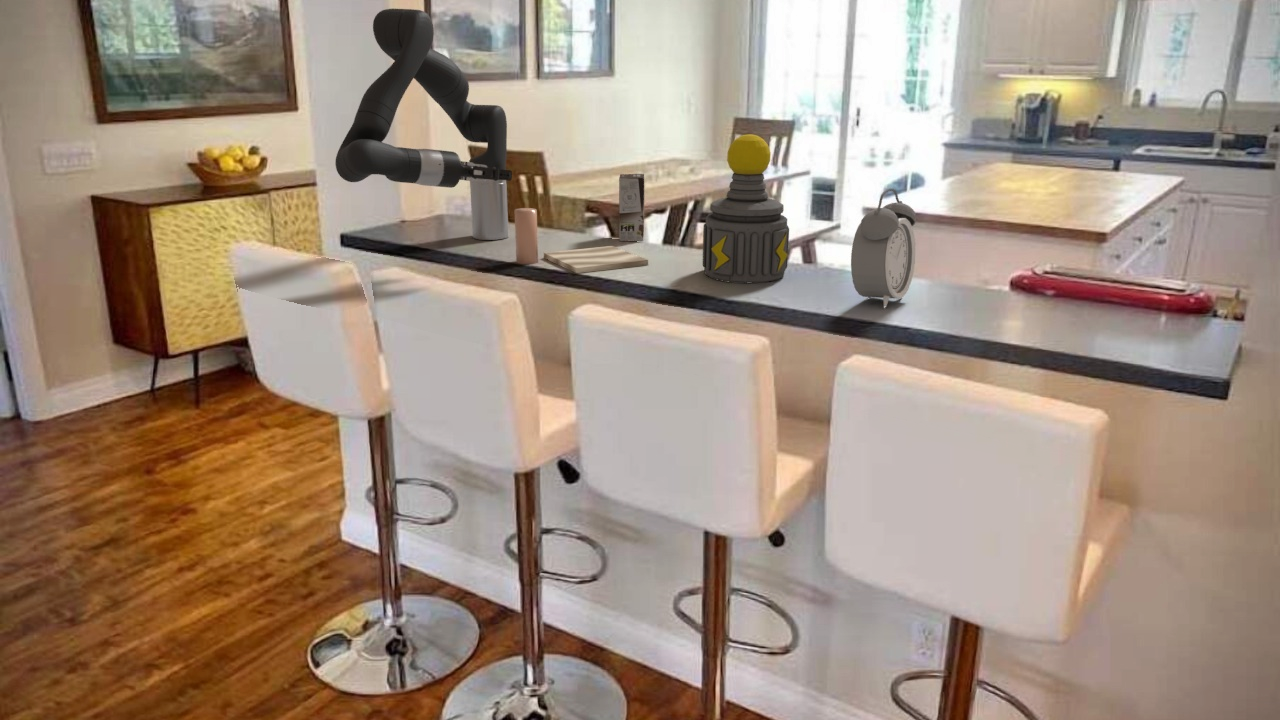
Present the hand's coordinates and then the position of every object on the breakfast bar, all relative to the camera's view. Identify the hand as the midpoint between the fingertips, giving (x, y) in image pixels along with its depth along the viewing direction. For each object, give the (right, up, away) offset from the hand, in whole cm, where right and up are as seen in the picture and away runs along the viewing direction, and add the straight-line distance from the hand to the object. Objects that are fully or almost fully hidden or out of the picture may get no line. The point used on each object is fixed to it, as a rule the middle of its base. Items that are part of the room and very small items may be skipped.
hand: (500, 174), depth 210 cm
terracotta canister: (+5, -18, +10) cm, 21 cm away
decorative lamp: (+53, -22, -1) cm, 58 cm away
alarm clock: (+78, -30, -23) cm, 86 cm away
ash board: (+20, -18, +11) cm, 29 cm away
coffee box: (+29, -9, +38) cm, 48 cm away
